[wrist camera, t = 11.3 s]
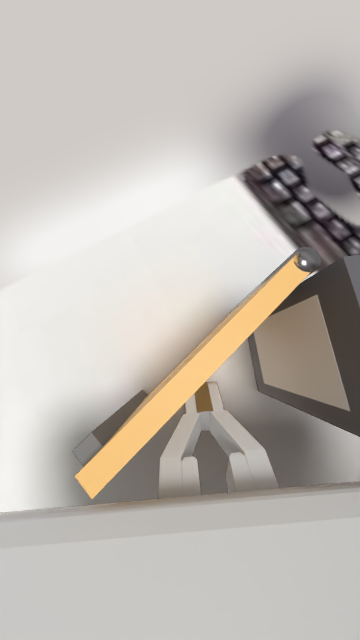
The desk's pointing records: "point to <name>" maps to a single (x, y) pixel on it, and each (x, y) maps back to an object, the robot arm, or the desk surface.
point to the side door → (185, 377)
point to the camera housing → (315, 346)
